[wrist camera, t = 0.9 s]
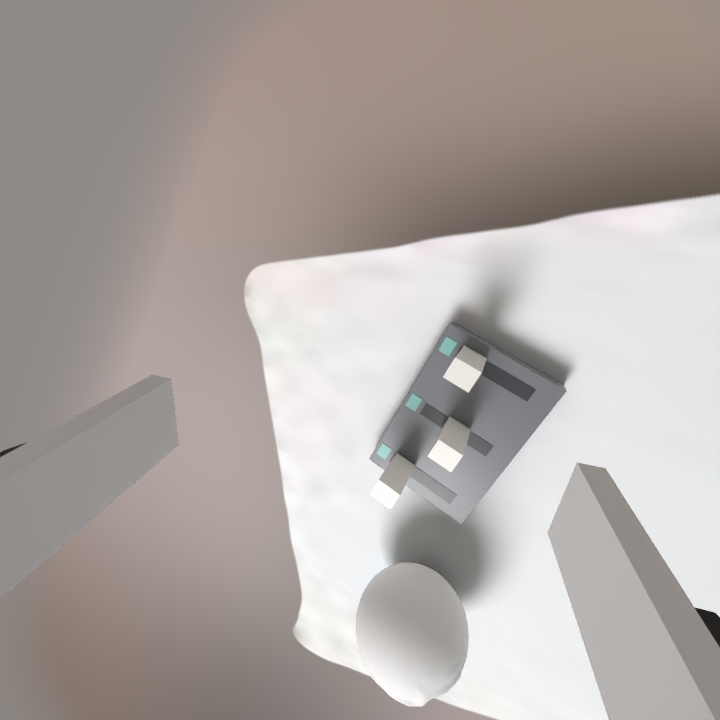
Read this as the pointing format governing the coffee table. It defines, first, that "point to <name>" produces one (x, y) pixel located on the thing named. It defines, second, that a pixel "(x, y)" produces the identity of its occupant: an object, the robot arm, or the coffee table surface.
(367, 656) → the decorative ball
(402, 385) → the coffee table surface
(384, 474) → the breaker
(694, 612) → the robot arm
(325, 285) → the coffee table surface
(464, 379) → the breaker
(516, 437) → the board
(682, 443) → the coffee table surface
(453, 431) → the breaker
